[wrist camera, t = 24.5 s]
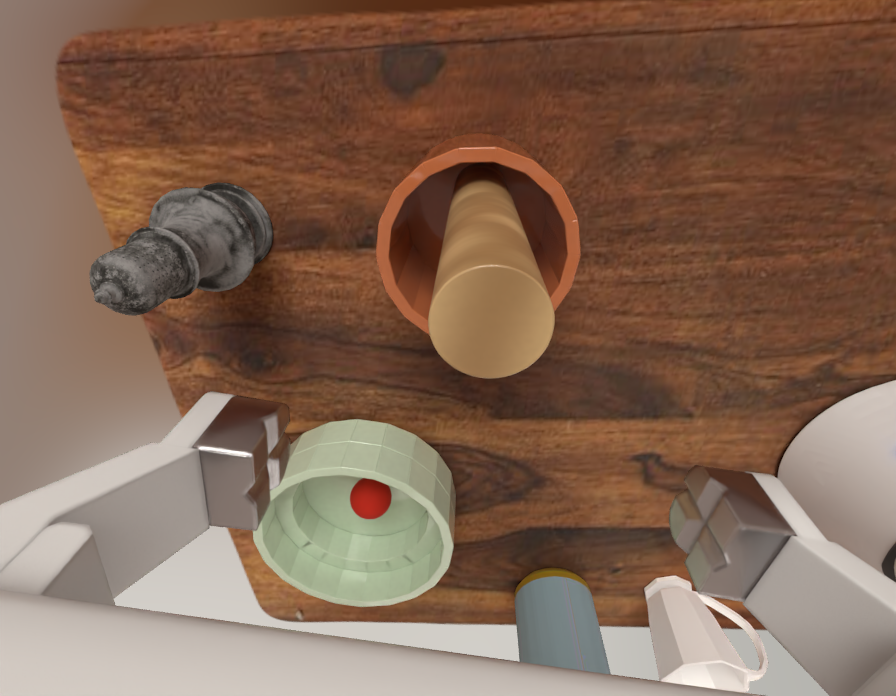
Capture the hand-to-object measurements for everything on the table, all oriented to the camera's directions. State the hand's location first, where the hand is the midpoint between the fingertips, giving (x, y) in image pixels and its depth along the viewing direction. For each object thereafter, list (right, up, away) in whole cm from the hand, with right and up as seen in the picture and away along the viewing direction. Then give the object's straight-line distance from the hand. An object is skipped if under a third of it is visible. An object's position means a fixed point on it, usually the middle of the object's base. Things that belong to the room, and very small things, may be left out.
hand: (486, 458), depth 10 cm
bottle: (+9, -20, +35) cm, 42 cm away
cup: (+21, -20, +35) cm, 45 cm away
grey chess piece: (-14, +10, +20) cm, 27 cm away
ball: (-7, -9, +27) cm, 29 cm away
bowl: (-7, -9, +30) cm, 32 cm away
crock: (+1, +10, +19) cm, 22 cm away
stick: (+1, +11, +17) cm, 21 cm away
